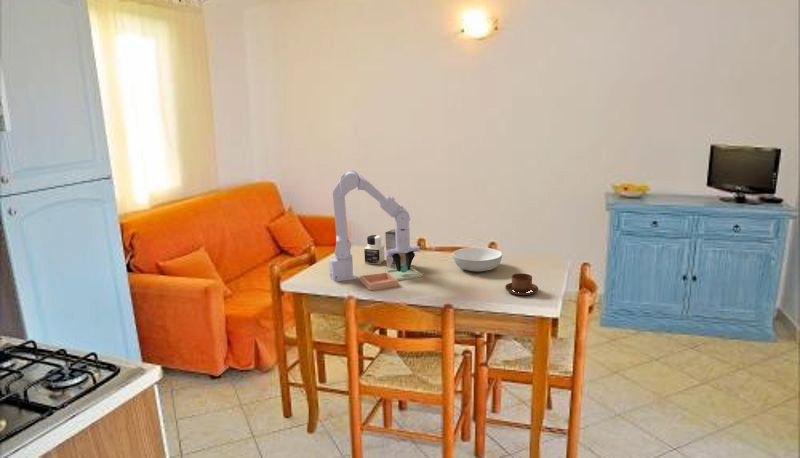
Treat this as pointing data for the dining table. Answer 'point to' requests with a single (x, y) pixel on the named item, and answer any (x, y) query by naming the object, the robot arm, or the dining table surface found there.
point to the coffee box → (391, 245)
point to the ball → (403, 268)
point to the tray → (404, 274)
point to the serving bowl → (477, 258)
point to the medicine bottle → (374, 250)
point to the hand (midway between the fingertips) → (403, 270)
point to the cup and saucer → (521, 284)
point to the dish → (379, 281)
